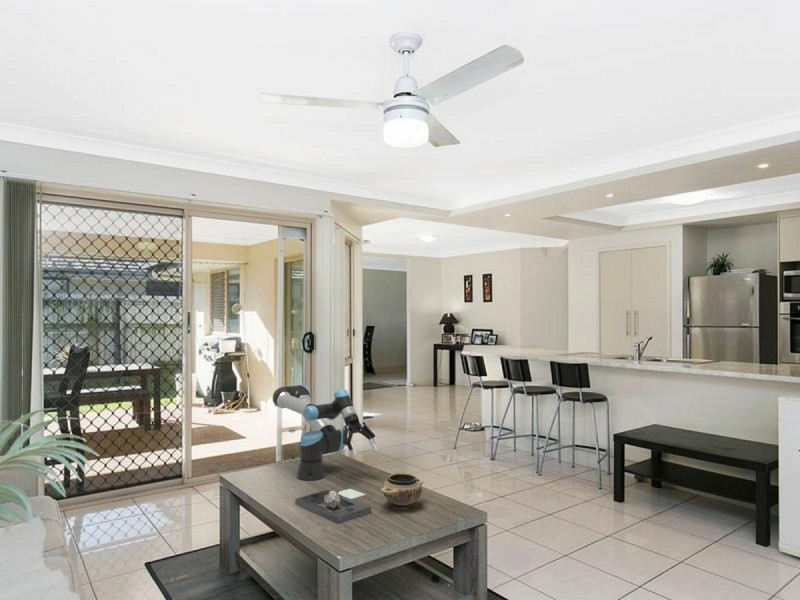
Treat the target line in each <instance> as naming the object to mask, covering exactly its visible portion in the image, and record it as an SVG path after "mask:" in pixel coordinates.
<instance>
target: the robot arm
mask: <svg viewBox="0 0 800 600" xmlns="http://www.w3.org/2000/svg"><path fill="white" fill-rule="evenodd" d="M333 397H334V400H333V401H332V402H331V403H324V404H314V403H312V402H311V401H312V393H311V389H310V388H309V387H308V386H306V385H305V384H304V385H303V384H296V385H290V386H289V385H288V386H281V387H278V388H276V390H274V392H273V394H272V397H271V398H272V402H273V404H274V405H275V406H276V407H277V408H281V409H286V410H287V409H288V410H290V411H293V412H295V413H298V414H299V415H301V416H302V417H303V418H304V420H305V421H306V422H307V424H308V425H309V426H310V427H311V429H312V430H311V431H310V430H309V431H307V432H304V433H303V434H302V435H301V436H300V443H299V444H300V454H299V455H300V457H299V461H300V463H299V466H298V468H297V469H298V470H297V472H296V478H297V479H298V480H301V481H318V480H322V479H324V478H325V477H326V469H325V466H324V461H323V455H324V456H325V455H327V454H332V453H339V452H341V451H343V450H344V449H345V446H346V447H347V448H348V450H349V451H350V452H351V455H352V457H353V458H354V457H356V455H358V453H357V451H356V449H355V446H354V444H353V442H352V439H353V435H354V434H358V433H359V434H361V435H362V436H364V437H365V438H366V439H367V440H368V443H369V445H370V448H371V450H372V453H375V452H376V451H377V450H378V449H377V446H376V441H375V439H374V438H375V437H376V434H375V433H374V432H373V431H372V430H371V429H370V428H369V427H368V426H367V424H366V422H365V421H363V422H362V423H361V422H360V419H359V416H358V414H357V412H356V411H357V410H356V409H355V407H354V404H353V401H352V399H351V397H350V394H349V392H348V390H347V389H346V388H343V389H338V390H336V391H335V392H334V394H333ZM340 415H341V417H342V419H343V421H344V424H345V425H344V426H342V429H340V428H339V429H336V427H335V426H334V425H333V424H329V423H328V422H327V420H330V421H333V420H335V419H337V418H338V417H339V416H340ZM326 419H327V420H326Z"/></svg>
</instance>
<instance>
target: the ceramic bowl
mask: <svg viewBox="0 0 800 600" xmlns="http://www.w3.org/2000/svg"><path fill="white" fill-rule="evenodd" d="M423 483H424V480H423V479H422V478H419V477H417V476H415V475H413V474H411V473H406V472H405V473H404V472H396V473H392V474H389V475H388V476H387V480H386V481H384V482H383V484H382V487H381V489H380V492H381V493H382V494H383V495H384V497H385V498H386V499H387V500H388V501H389V502H390V503H391V507H393V508H394V509H399V510H406V509H405V508H407V509H409V507H410V508H411V506H413V503H415V502H416V501H417V500H418V499H420V497H421V496H422V492H423V488H422V485H423Z"/></svg>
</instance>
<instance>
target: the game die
mask: <svg viewBox="0 0 800 600" xmlns="http://www.w3.org/2000/svg"><path fill="white" fill-rule="evenodd" d="M329 491H330V492H329V493H328V492H327V495H326V496H325V497H324V496H323V498H324V500H325V502H323V505H325V508H329V509H330V508H331V510H332V511H335V508H336V507H338V506H339V505H340V504H339V503H340V502H341V503H343V502H342V501H341V500H340V495H339V494H338V492H340V491H335V490H333V488H331V489H330V490H329Z"/></svg>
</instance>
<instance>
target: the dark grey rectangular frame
mask: <svg viewBox="0 0 800 600" xmlns="http://www.w3.org/2000/svg"><path fill="white" fill-rule="evenodd" d="M330 491H331V490H328V489H326V490H322V491H319V492H318V491H317V492H315V493H311V494H307V495H305V496H299V497H296V498H295V501H294V505H296V504H297V506H298V505H299V507H301V508H303V509H306V510H307V511H310V512H312V513H314V514H317V515H318V516H321V517H323V518H324V519H328V520H329V521H332V522H334V523H336V524H340V523H344V522H347V521H349V520H353V519H355V518H358V517H362V516H365V515H368V514H372V506H370V505H367V504H366V503H365V504H364V503H362V502H360V501H358V500H355V499H353V500H352V499H349V498H347V497H344V496H342V495H340V500H341V501H342V502H343V503H341V502H340V503H339V504H338V505H341V506H344V507H343V508H340V509H336V510H334V511H333V509H330V508H329V507H327V508H326V506H323V505H320V504H324V503H325V500H324V498H323V496H324V497H325V496H326V495H327V492H328V493H329V492H330Z"/></svg>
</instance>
